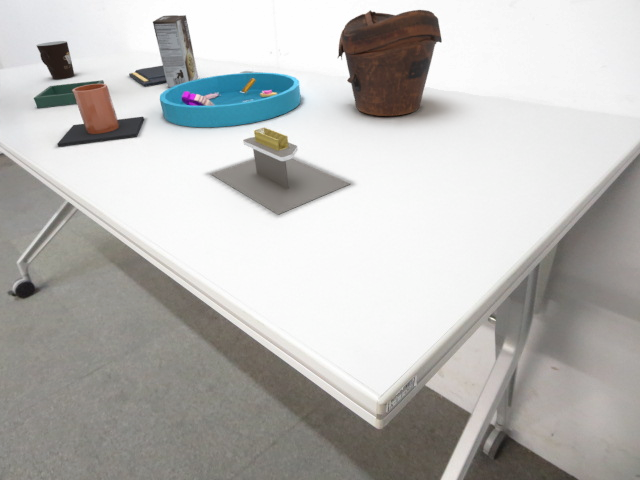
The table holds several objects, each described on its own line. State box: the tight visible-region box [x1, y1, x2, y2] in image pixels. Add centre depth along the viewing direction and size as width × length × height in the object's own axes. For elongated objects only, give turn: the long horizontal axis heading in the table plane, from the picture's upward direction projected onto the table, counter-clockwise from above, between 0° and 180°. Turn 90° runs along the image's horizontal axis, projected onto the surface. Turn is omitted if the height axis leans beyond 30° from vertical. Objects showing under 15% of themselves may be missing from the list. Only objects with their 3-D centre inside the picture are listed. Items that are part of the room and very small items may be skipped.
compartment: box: [33, 79, 105, 109], centre depth 114 cm, size 14×14×2 cm
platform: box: [210, 127, 351, 215], centre depth 61 cm, size 12×18×7 cm, turn 39°
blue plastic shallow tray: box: [159, 72, 301, 128], centre depth 97 cm, size 30×30×6 cm
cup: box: [72, 83, 119, 134], centre depth 86 cm, size 6×6×8 cm
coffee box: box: [152, 14, 199, 88], centre depth 117 cm, size 9×6×16 cm
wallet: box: [128, 64, 167, 87], centre depth 131 cm, size 20×2×15 cm
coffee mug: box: [36, 40, 75, 80], centre depth 138 cm, size 12×9×10 cm
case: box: [337, 9, 443, 117], centre depth 85 cm, size 18×20×18 cm
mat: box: [56, 116, 145, 148], centre depth 88 cm, size 14×12×1 cm
